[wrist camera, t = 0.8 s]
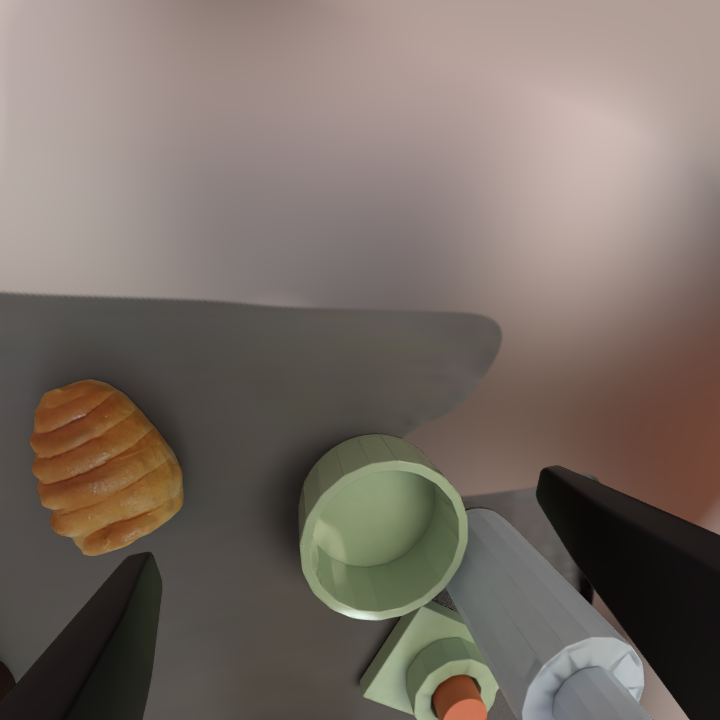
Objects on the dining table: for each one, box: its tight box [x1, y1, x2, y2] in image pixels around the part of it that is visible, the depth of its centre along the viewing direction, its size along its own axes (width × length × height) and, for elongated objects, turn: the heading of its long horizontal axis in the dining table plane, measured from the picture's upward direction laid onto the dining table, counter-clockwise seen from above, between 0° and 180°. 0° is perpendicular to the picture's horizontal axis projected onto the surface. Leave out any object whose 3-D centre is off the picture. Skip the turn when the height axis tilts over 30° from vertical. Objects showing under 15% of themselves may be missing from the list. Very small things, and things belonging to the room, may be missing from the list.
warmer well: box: [298, 434, 468, 621], centre depth 24 cm, size 10×10×4 cm
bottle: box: [445, 508, 653, 720], centre depth 21 cm, size 6×6×14 cm
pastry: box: [30, 379, 184, 556], centre depth 21 cm, size 9×7×4 cm
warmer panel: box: [360, 600, 499, 720], centre depth 28 cm, size 8×10×3 cm
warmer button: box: [433, 674, 487, 720], centre depth 26 cm, size 3×3×2 cm
